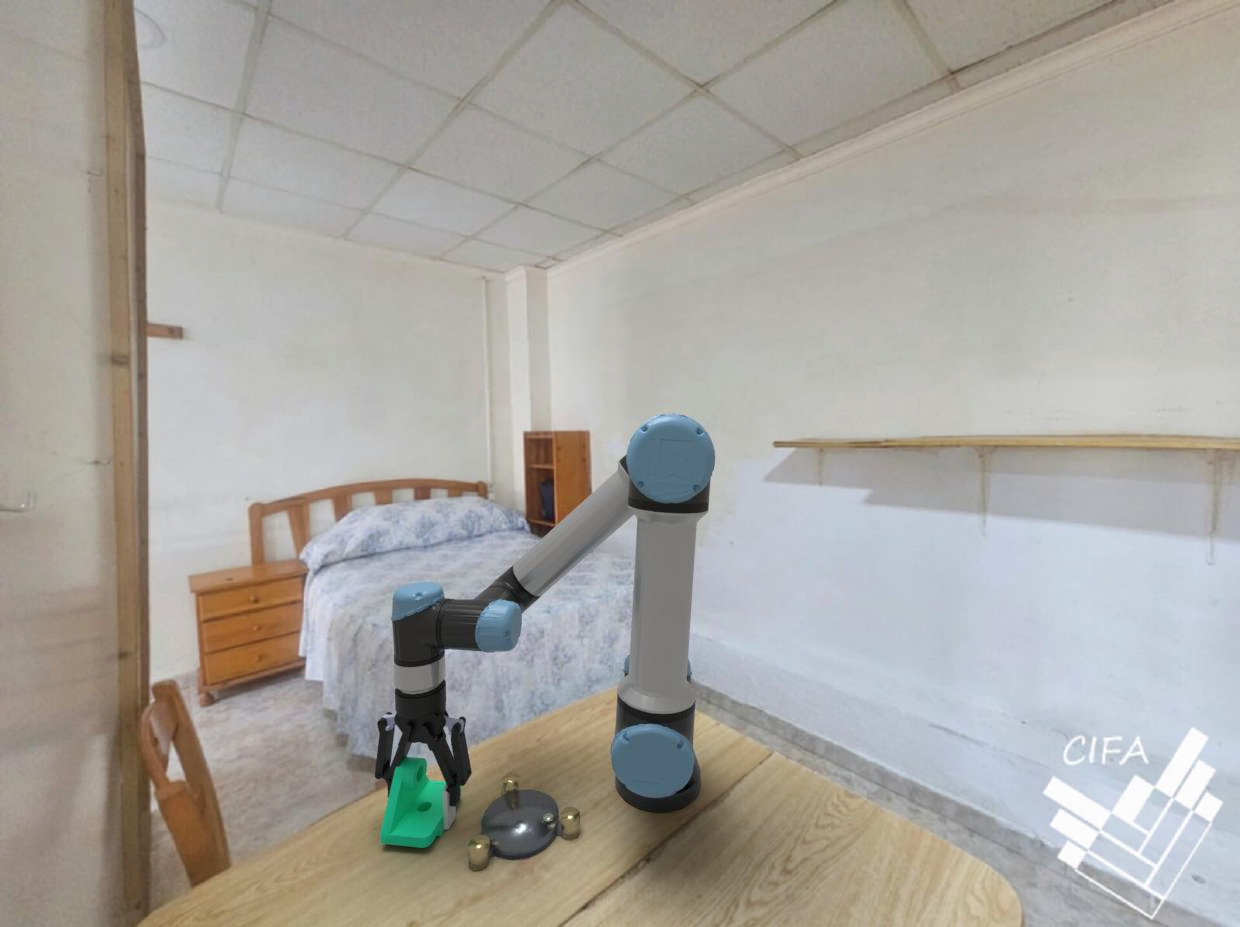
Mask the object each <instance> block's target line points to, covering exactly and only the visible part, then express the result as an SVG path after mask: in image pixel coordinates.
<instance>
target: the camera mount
mask: <svg viewBox="0 0 1240 927" xmlns="http://www.w3.org/2000/svg"><path fill="white" fill-rule="evenodd" d="M427 769H428V763H427V760H426V758H425V757H414V756H407V757H405V758H404V759H403V761H402V762H401V764H400V765H399V767H396V768H395V772H394V776H393V780H392V785H391V789H390V793H389V798H388V797H387V803H386V808H385V811H384V815H383V818H382V819H383V820H382V823H381V824H382V825H381V829H380V833H379V834H380V835H379V836H380V839H379V840H380V841H379V842H380V844H383V845H392V846H402V847H409V848H410V847H412V848H421V849H422V848H423V849H425V848H428V847H430V846H431V845H432V844H433V842H434V840H435V839H436V838H437V837H441V836H442V835H443V832H445V830H446V829H444V820H443V788H444V787H445V785H446V782H445V781H443V780H440V781H439V780H431V779H429V778H428V775H427V771H428V770H427ZM461 797H462V786H460V798H461Z"/></svg>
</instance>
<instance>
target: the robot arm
mask: <svg viewBox="0 0 1240 927" xmlns="http://www.w3.org/2000/svg"><path fill="white" fill-rule="evenodd" d="M714 446H715V445H714V443H713V441H712V439H711V436H710V435H709V433H708V432H707V431H706V429H705V428H704V426H703V425H701V424H700V423H699V422H698V421H696V420H695V419H693V418H692V417H689V416H687V415H684V414H676V413H667V414H666V413H665V414H664V413H663V414H659V415H656V416H653V417H651V418H649V419H646V421H645V422H643V423H642V424H641V425H640V426H639V427H638V428H637V429H636V430H635V432H634V433H633V434H632V436H631V438H630V441H629V443H628V446H627V451H626V453H625V455H624V456H623V457H621V459H619V461H617V470H616V471H615V472H614V473H613V474H612V475H610V477H608V478H607V479H605V481H604V482H602V483H601V485H600V486H599V487H597V488H596V489H595V490H594V491H593V492H592V493H590V495H588V496H587V497H586V498H585V499H584V500H583V501H582V502H581V503H580V504H578V505H577V506H576V507H575V508H574V509H573V510H572V511H571V512H570V513H568V514H567V515H566V516H565V517H564V518H563V519H562V520H561V521H560V522H559V523H557V525H555V526H554V527H553V528H552V529H551V530H550V531H549V532H548V533H546V534H545V535H544V536H543V537H542V538H541V539H540V540H539V541H538V542H537V543H535V544H534V545H533V546H532V547H531V548H530V549H529V550H527V551H526V553H524V554H523V555H522V556H521V557H520V558H519V559H517V561H516V562H515V563H514V564H512V565H511V566H510V567H509V568H507V570H506V571H504V573H502V574H501V575H500V576H498V578H496V579H495V580H494V581H493V582H492V583H491V584H490V585H489V586H487V587H486V588H485V589H484V590H482V591H481V592H480V593H479V594H478V595H476V597H475V598H471V599H462V598H461V599H459V598H458V599H457V598H448V597H447V598H446V597H445V593H444V587H443V586H442V585H441V584H440V583H435V582H432V581H418V582H413V583H409V584H405V585H402V586H401V587H400V588H397V589H396V590H395V591H394V593H393V595H392V604H391V605H392V606H391V610H392V611H391V618H390V620H391V622H392V623H391V624H392V638H393V639H392V640H393V679H394V682H393V684H394V685H393V686H394V687H395V689H394V703H395V704H394V708H395V713H392V712H391V711H387V712H385V714H384V715H383V716H381V717H380V719H378V721H377V723H376V724H377V725H376V726H377V730H378V734H379V736H378V744H377V752H376V762H375V769H374V777H375V779H376V780H380V779H383V780H384V781H385V782H386V784H387V799H388V798H389V793H390V789H391V785H392V780H393V776H394V772H395V768H396V767H399V765H400V764H401V762H402V761H403V759H404V758H405V757H408V754H409V752H410V749H411V746H412V745H413V744H416V743H421V744H425V745H427V748H428V749H429V751H430V752H432V753H433V757H434V758H435V761H436V763H437V765H438V767H439V770H440V772H441V775H442V778H443V779H444V782H446V785H445V787H444V788H443V820H444V829H445V830H446V831H447V830H448V831H449V829H450V828H451V826H452V824H453V822H454V821H455V819H456V817H457V814H456V813H457V812H456V811H457V810H456V809H457V808H456V807H457V805H458V803H459V801H460V800H461V797H460V786H461V787H464V786H465V785H466V784H467V782H468V781H469V779H470V777H471V775H472V774H473V772H472V771H473V770H472V765H471V759H470V754H469V749H468V744H467V738H466V733H465V732H466V731H465V728H466V723H467V719H466V717H465V716H464V715H463V716H460V717H459V718H454V717H451V716H449V713H448V711H447V708H446V707H447V681H446V679H445V678H446V654H445V653H446V650H457V651H471V652H484V653H487V654H488V653H500V652H511V651H512V650H514V648H516V646H517V644H518V643H519V638H520V637H521V632H522V626H523V625H522V624H523V616H522V615H523V614H524V613H525V611H527V610H528V609H529V608H530V607H531V606H532V605H534V604H535V603H536V602H537V601H538V600H539V599H540V598H541V597H542V596H543V595H545V594H546V593H547V591H549V590H550V589H551V588H553V586H554V585H555V584H557V583H558V582H559V581H561V580H562V578H564V576H566V575H567V574H568V573H569V572H571V571H572V570H573V569H574V568H575V567H576V566H578V565H579V564H580V563H581V562H582V561H583V560H584V559H585V558H586V557H588V556H589V555H590V554H591V553H592V552H593V551H595V550H596V549H597V548H598V547H599V546H600V545H601V544H603V543H604V542H606V540H607V539H608V538H609V537H610V536H612V535H613V534H614V533H615V532H616V531H618V529H620V528H621V527H622V526H623V525H624V524H625V523H627V521H629V520H630V519H631V518H632V517H634V516H635V517H636V520H637V521H636V534H635V535H636V540H635V555H634V556H635V557H634V573H633V589H632V590H633V591H632V606H631V607H632V608H631V609H632V610H631V612H632V613H631V629H630V645H629V655H627V656H626V658H625V659H624V666H623V670H622V672H623V673H624V674H623V675H624V676H623V678H622V679H621V680H620V681H619V683H618V685H617V692H616V693H617V697H616V709H615V710H616V712H615V728H614V736H613V740H612V742H611V745H610V762H611V766H612V770H613V772H614V774H615V775H614V776H615V777H614V779H615V780H614V783H615V787H616V791H617V792H618V793H619V795H620V797H621V798H622V799H623V800H625V802H627V803H628V804H630V805H631V806H633V807H635V808H638V809H641V810H644V811H648V812H653V813H665V812H673V811H677V810H681V809H683V808H685V807H687V806H689V805H690V804H691V803H693V802H694V801H695V800H696V799H697V797H698V796H699V793H700V791H701V787H702V785H701V784H702V782H701V780H702V779H701V778H702V776H701V775H702V774H701V768H700V765H699V762H698V758H697V756H696V752H695V749H694V734H695V733H694V732H695V718H696V717H695V715H696V702H697V700H696V698H697V693H696V690H695V688H694V687H693V685H692V684H691V682H692V679H691V678H692V675H693V672H692V671H691V670H692V669H691V662H690V660H689V648H690V646H689V645H690V634H691V633H690V631H691V620H692V619H691V618H692V616H691V615H692V603H693V588H694V587H693V585H694V575H695V574H694V573H695V572H694V571H695V558H696V557H695V555H696V541H697V526H698V522H699V521H700V520H701V519H702V518H703V517H704V516H706V515H707V514H708V513H709V506H710V493H711V492H710V490H711V479H712V476H713V472H714V471H715V465H716V451H715V447H714ZM396 726H397V728H398V729H399V730H400V732H401V737H400V739H399V742H398V743H397V746H398V747H397V748H396V752H395V754H394V757H393V759H392V756H393V746H394V738H395V730H396V729H395V728H396ZM445 727H446V728H447V729H448V736H450V745H451V747H450V746H449V744H448V741H447V734H446V731H445V729H444V728H445ZM450 748H451V749H452V751H451V749H450Z"/></svg>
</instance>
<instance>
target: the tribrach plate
mask: <svg viewBox="0 0 1240 927" xmlns="http://www.w3.org/2000/svg"><path fill="white" fill-rule="evenodd" d="M500 781H501V782H500V783H501V786H500V788H501V795H500V796H499V797H498V798H496V799H494V801H492V802H491V803H490V804H489V805H488V806H487V808H485V811H484V812H483V814H482V816H481V819H480V820H481V821H480V822H481V823H480V832H481V833H480V834H477V835H475V836H473V837H472V838H470V839H469V841H468V844H467V845H468V846H467V847H468V848H467V852H468V854H467V856H468V867H469V869H470V870H471V871H473V872H479V871H480V872H481V871H483V870H485V869H486V868H487V867H488V866H489V865H490V863H491V859H492V858H493V857H497V858H499V859H503V860H509V861H510V860H511V861H512V860H513V861H514V860H522V859H523V860H524V859H526V858H527V859H528V858H530V857H532V856H534V855H538V854H539V853H541V852H543V850H545V849H547V848H548V847H549V846H550V845H551V844H552V843H553V842H554V841H555V838H556V837H557V836H561V837H562V838H563V839H565V840H568V841H570V840H571V841H572V840H575V839H577V838H578V837H579V836H580V835H581V812H580V810H579V808H577V807H575V806H569V807H568V806H567V807H565V808H563V809H562V810H561V812H560V810H559V805H558V803H557V801H556V800H555V798H553V797H552V796H551V795H549V794H548V793H546V792H544V791H542V790H537V789H530V788H529V789H528V788H527V789H520V776H519V774H518V773H516V772H507V773H506V774H503V776H501V779H500Z"/></svg>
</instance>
